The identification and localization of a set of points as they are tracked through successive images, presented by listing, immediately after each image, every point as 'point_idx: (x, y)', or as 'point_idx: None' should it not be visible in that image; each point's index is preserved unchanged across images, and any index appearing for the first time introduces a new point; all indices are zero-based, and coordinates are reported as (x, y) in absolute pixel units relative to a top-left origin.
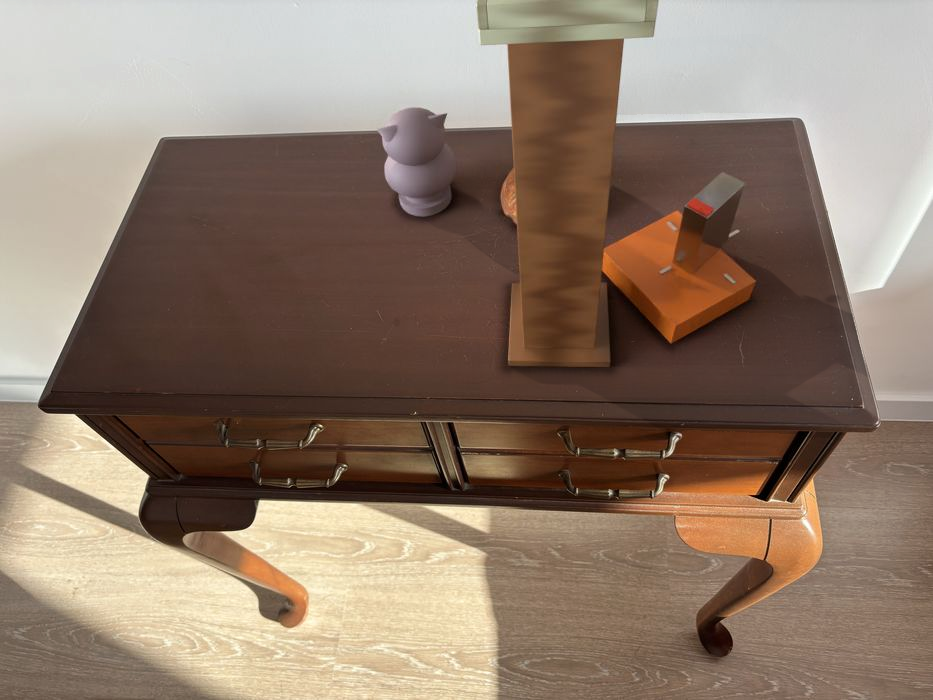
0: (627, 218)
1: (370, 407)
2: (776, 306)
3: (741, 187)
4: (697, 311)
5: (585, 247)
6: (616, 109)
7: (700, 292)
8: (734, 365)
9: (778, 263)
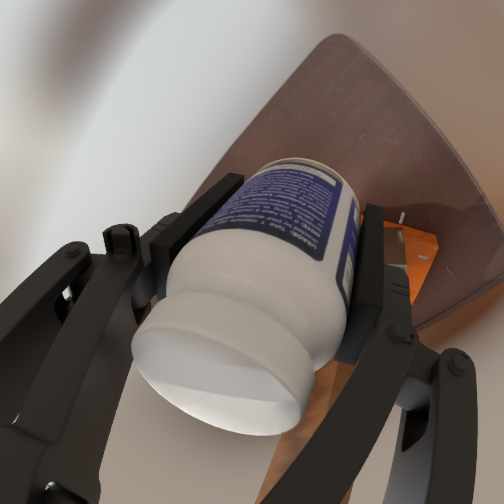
0: None
1: None
2: (453, 228)
3: (406, 269)
4: (418, 289)
5: None
6: (349, 497)
7: (412, 276)
8: (450, 281)
9: (436, 191)
